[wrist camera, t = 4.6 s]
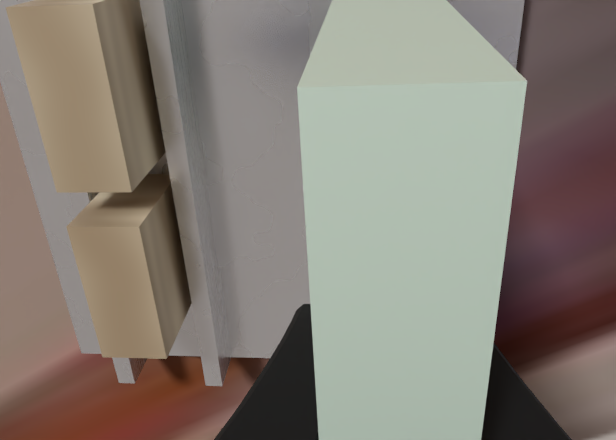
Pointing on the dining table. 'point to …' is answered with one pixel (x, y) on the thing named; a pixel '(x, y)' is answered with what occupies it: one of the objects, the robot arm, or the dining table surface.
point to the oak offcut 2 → (133, 269)
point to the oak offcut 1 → (90, 91)
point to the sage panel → (405, 216)
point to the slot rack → (219, 164)
